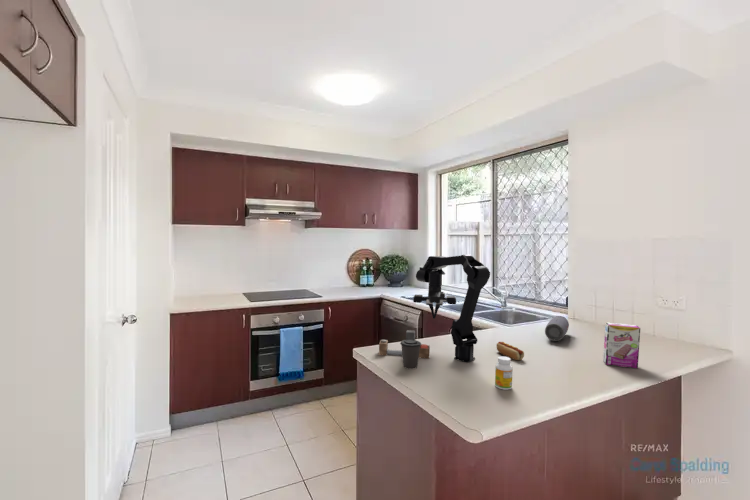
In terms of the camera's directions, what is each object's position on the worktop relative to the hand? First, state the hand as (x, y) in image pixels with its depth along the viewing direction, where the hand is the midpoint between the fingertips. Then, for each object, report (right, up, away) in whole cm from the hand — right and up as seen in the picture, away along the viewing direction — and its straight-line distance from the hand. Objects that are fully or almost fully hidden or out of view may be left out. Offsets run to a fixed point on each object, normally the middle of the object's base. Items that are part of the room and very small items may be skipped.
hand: (434, 318), depth 166 cm
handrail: (-15, -13, -12) cm, 23 cm away
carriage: (-12, -13, -12) cm, 22 cm away
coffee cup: (-13, -14, -25) cm, 31 cm away
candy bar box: (+71, -15, -19) cm, 76 cm away
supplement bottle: (+16, -15, -42) cm, 48 cm away
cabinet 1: (-23, -13, -10) cm, 28 cm away
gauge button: (-6, -13, -13) cm, 19 cm away
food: (+30, -15, -10) cm, 35 cm away
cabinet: (-6, -13, -13) cm, 20 cm away
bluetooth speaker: (+65, -14, +20) cm, 70 cm away
